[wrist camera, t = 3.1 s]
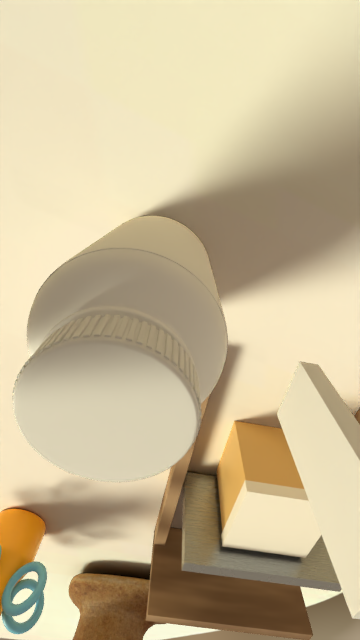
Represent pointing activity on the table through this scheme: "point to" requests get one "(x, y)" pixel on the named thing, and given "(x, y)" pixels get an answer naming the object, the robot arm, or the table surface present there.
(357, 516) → the robot arm
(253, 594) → the lane
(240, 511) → the cream cube
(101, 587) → the brown felt boot
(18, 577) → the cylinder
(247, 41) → the table surface
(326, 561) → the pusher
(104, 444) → the pill bottle
